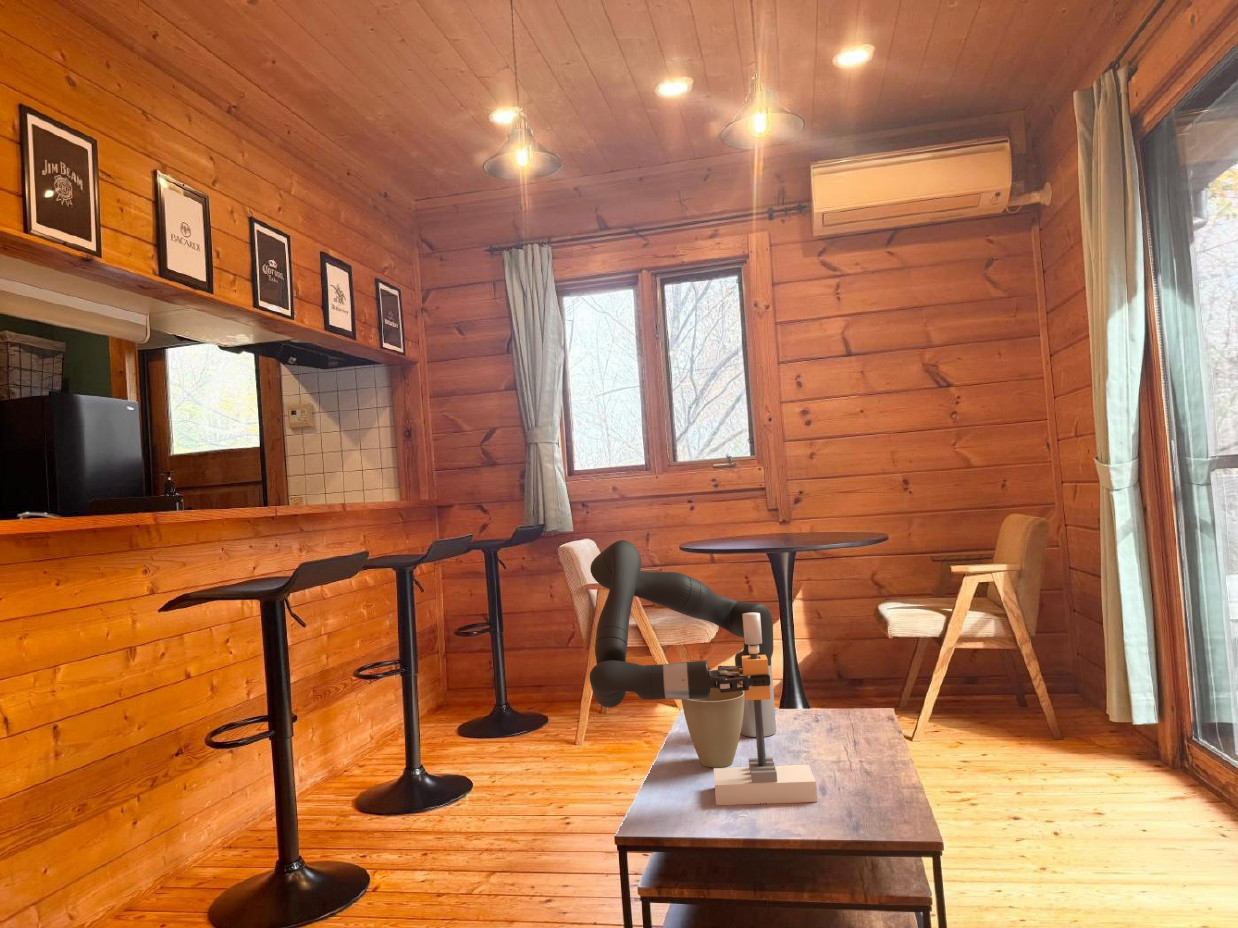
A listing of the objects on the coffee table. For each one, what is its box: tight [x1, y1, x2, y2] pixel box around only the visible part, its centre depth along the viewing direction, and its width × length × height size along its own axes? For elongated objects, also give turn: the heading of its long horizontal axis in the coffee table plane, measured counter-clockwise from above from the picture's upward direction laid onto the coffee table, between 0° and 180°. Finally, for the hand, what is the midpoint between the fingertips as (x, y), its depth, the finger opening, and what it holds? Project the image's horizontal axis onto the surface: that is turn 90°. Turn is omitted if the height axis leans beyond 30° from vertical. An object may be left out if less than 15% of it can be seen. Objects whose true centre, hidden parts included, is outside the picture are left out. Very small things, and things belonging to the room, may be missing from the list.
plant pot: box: [680, 688, 745, 768], centre depth 194 cm, size 15×15×16 cm
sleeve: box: [742, 655, 771, 700], centre depth 173 cm, size 5×5×8 cm
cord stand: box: [713, 612, 818, 806], centre depth 173 cm, size 10×20×37 cm, turn 85°
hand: (768, 676), depth 173 cm, fingers open, 5 cm apart
